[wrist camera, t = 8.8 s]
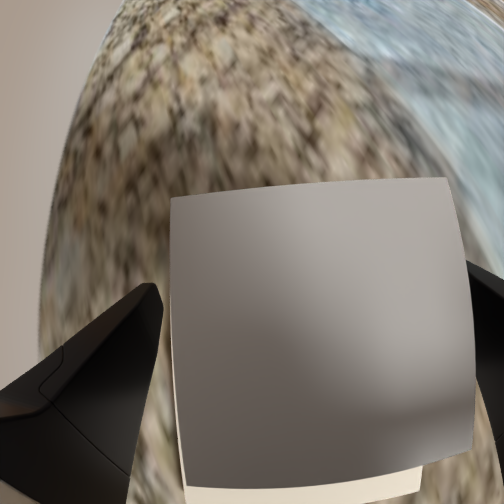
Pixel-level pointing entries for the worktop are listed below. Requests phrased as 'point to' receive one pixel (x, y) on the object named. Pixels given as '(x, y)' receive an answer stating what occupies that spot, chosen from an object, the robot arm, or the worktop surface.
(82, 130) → the worktop surface
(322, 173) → the worktop surface
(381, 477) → the board
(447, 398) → the plug block
